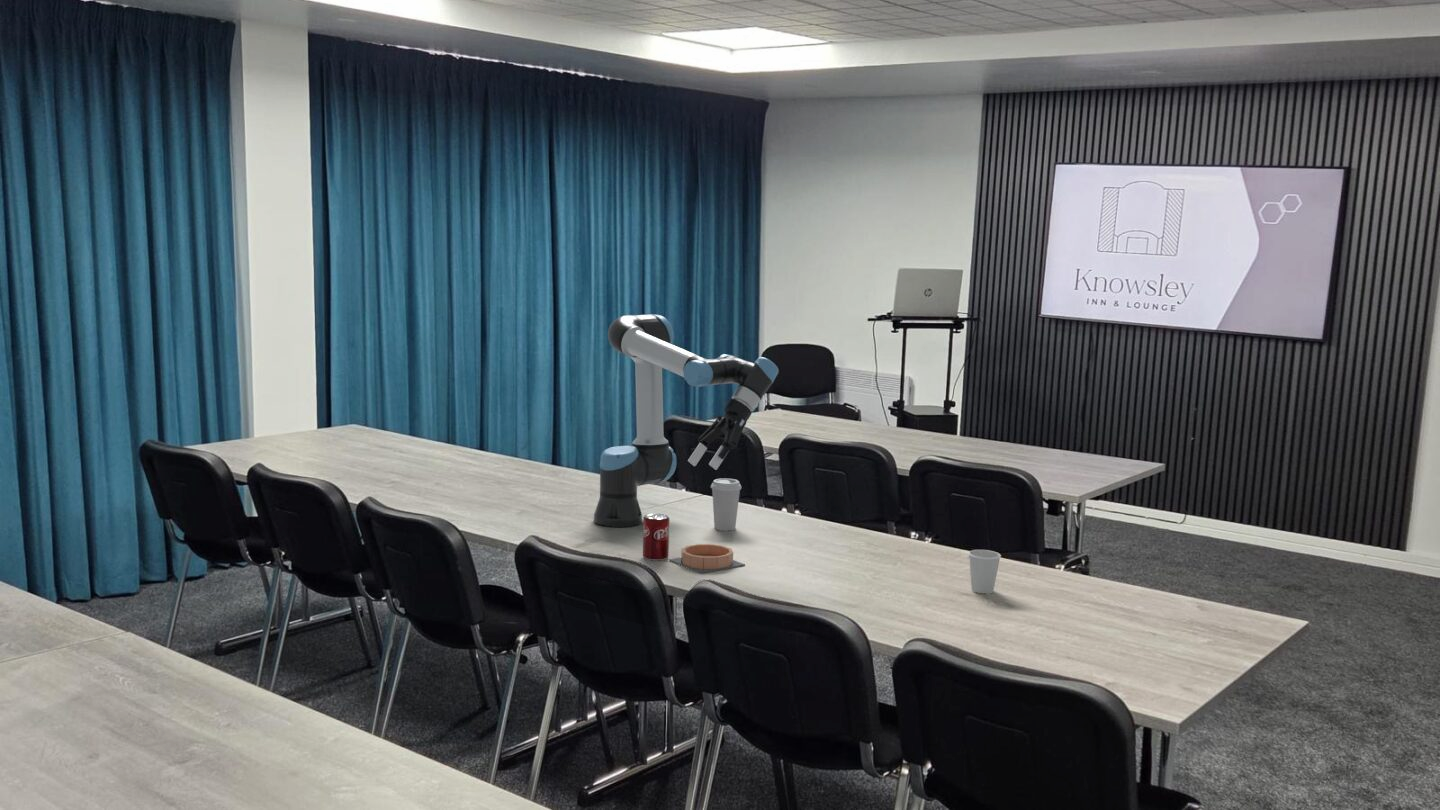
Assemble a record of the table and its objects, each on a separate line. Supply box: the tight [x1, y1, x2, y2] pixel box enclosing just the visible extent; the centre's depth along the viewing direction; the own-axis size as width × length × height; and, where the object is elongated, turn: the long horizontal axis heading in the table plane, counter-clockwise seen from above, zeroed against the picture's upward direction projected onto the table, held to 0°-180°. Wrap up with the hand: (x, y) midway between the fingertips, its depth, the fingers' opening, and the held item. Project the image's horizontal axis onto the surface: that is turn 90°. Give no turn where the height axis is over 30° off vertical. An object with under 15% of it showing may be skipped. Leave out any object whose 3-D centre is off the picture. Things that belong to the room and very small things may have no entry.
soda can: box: [642, 513, 670, 562], centre depth 332 cm, size 7×7×12 cm
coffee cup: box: [710, 478, 742, 532], centre depth 369 cm, size 10×10×15 cm
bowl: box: [668, 543, 746, 575], centre depth 329 cm, size 15×15×4 cm
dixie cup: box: [968, 549, 1002, 595], centre depth 311 cm, size 8×8×10 cm
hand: (701, 465), depth 338 cm, fingers open, 13 cm apart
